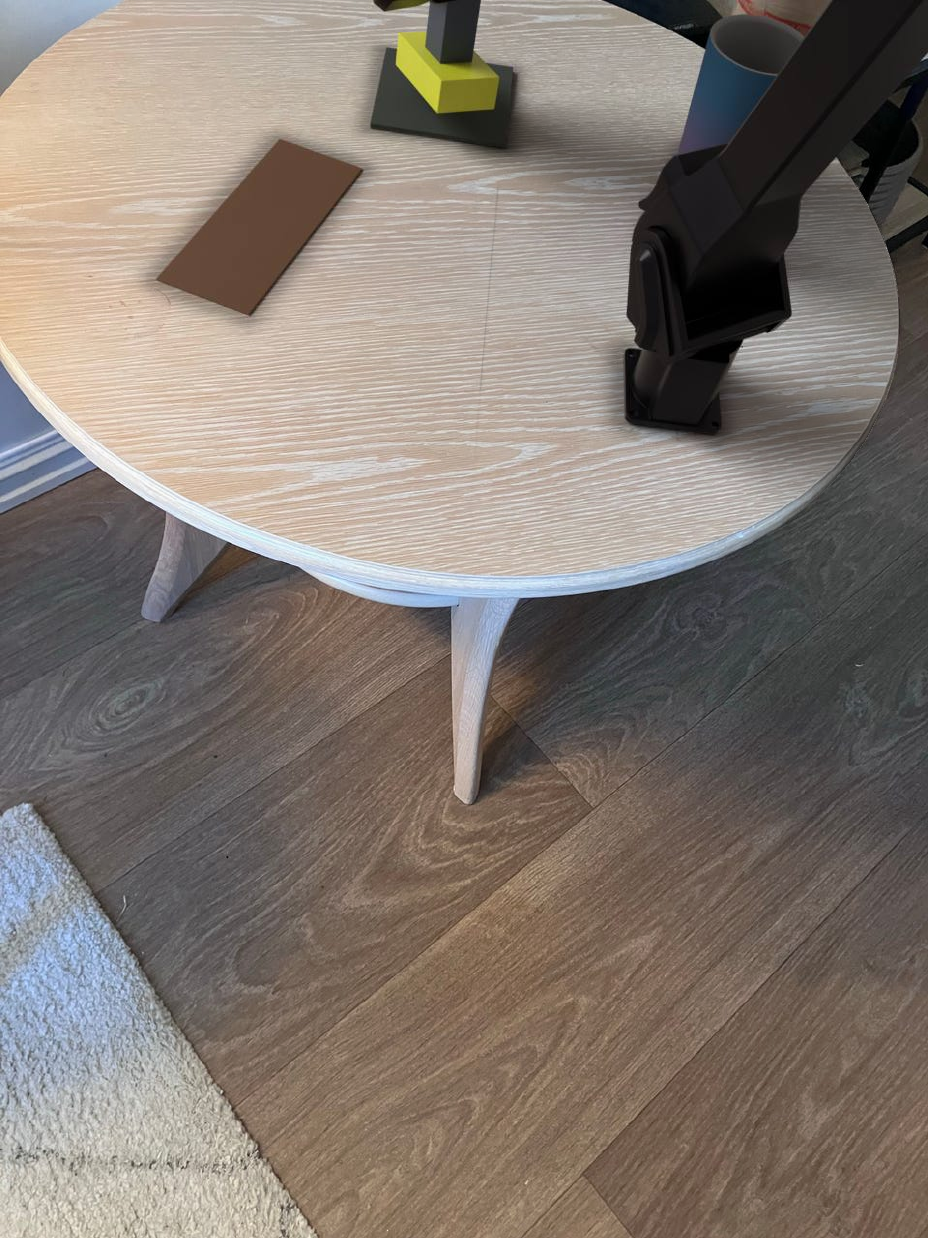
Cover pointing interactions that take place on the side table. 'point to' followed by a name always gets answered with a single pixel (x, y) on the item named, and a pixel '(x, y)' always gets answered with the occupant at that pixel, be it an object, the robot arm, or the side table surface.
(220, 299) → the brown rectangular board
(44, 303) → the side table surface
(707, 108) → the cup
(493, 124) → the mat
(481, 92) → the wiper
